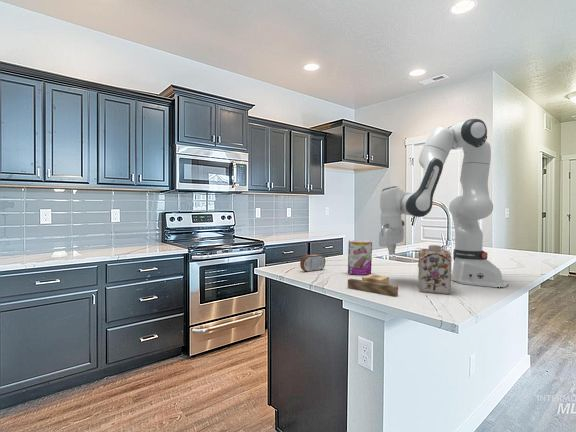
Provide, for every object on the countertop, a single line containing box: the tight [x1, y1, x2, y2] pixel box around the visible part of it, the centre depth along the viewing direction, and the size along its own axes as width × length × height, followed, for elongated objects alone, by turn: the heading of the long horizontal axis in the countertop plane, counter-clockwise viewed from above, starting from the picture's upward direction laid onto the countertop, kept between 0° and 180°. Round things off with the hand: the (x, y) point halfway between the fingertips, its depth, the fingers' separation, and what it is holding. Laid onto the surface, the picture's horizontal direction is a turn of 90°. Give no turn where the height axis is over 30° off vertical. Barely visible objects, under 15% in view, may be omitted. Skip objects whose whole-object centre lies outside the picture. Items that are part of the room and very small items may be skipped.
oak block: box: [361, 273, 390, 285], centre depth 138 cm, size 8×8×5 cm
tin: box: [299, 253, 326, 273], centre depth 174 cm, size 15×3×8 cm, turn 124°
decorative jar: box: [417, 244, 453, 295], centre depth 137 cm, size 12×12×18 cm
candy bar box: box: [347, 240, 373, 276], centre depth 166 cm, size 11×5×16 cm, turn 84°
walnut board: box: [347, 278, 399, 298], centre depth 133 cm, size 20×2×4 cm, turn 51°
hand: (392, 254), depth 150 cm, fingers closed
